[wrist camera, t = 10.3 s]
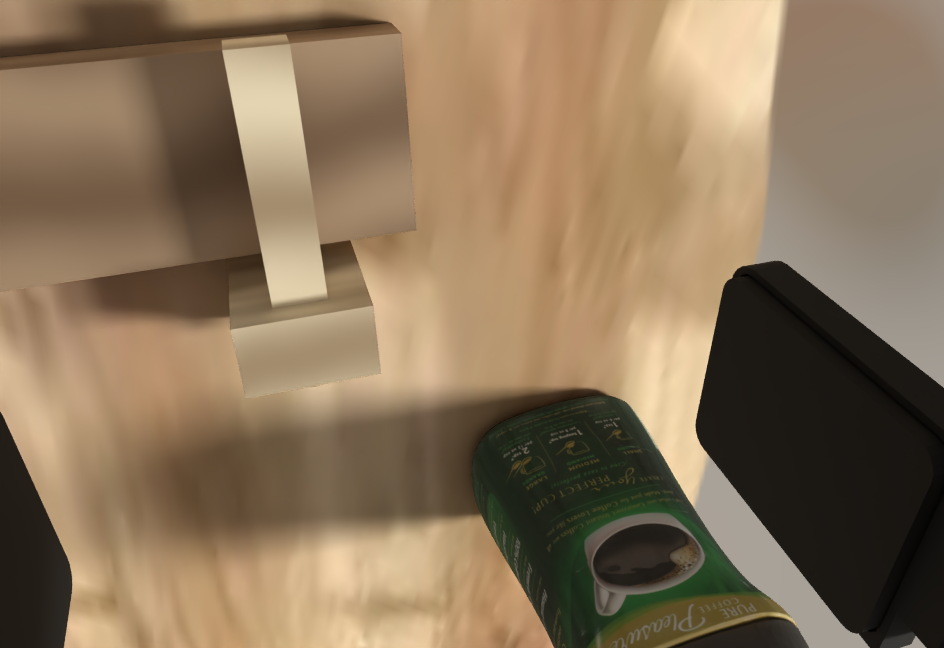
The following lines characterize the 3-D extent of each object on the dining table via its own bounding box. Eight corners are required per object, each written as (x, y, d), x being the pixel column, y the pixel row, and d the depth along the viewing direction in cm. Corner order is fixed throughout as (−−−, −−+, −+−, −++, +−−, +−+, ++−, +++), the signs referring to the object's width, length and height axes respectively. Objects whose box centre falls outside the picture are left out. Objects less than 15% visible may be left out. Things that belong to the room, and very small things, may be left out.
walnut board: (-544, 106, 23) (-602, 125, 21) (390, 22, 29) (401, 33, 27) (-385, 324, 27) (-424, 355, 25) (406, 211, 33) (416, 230, 31)
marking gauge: (175, 23, 27) (168, 62, 22) (320, 11, 28) (343, 46, 23) (244, 333, 34) (250, 416, 29) (358, 313, 35) (382, 390, 30)
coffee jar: (475, 527, 44) (614, 886, 29) (459, 420, 40) (613, 776, 25) (633, 480, 46) (843, 797, 31) (634, 373, 41) (879, 679, 26)
